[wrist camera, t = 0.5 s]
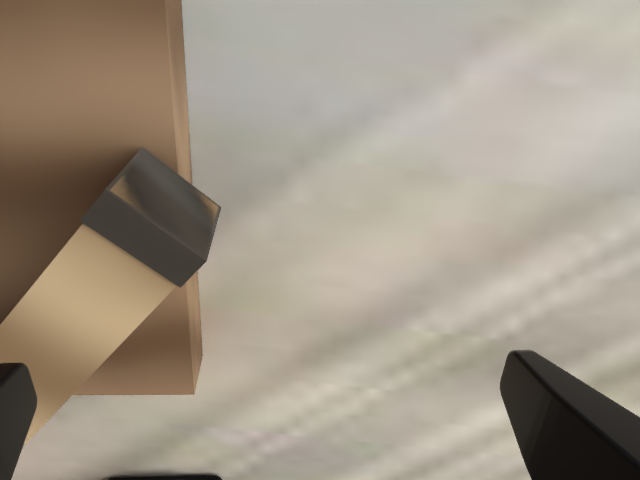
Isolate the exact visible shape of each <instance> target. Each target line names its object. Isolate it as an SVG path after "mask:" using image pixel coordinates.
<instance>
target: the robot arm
mask: <svg viewBox="0 0 640 480" xmlns="http://www.w3.org/2000/svg"><path fill="white" fill-rule="evenodd" d="M500 391H501V396H502V399H503V401H504V404H505V407H506V410H507V413H508V416H509V419H510V422H511V425H512V428H513V431H514V433H515V436H516V439H517V442H518V445H519V448H520V451H521V454H522V457H523V459H524V462H525V465H526V467H527V470H528V472H529V474H530V477H531V479H532V480H640V417H638V416H637V415H635V414H634V413H632V412H630V411H629V410H627V409H626V408H624V407H622V406H621V405H619V404H618V403H616V402H614V401H613V400H611V399H610V398H608V397H606V396H605V395H603V394H601V393H600V392H598V391H597V390H595V389H593V388H592V387H590V386H589V385H587V384H585V383H584V382H582V381H581V380H579V379H577V378H576V377H574V376H573V375H571V374H569V373H568V372H566V371H565V370H563V369H561V368H560V367H558V366H557V365H555V364H553V363H552V362H550V361H549V360H547V359H545V358H544V357H542V356H540V355H539V354H537V353H536V352H534V351H532V350H513V351H511V352H510V353H509V354H508V356H507V359H506V363H505V366H504V370H503V373H502V377H501V381H500ZM36 408H37V394H36V391H35V388H34V385H33V381H32V378H31V375H30V372H29V369H28V367H27V365H26V364H24V363H21V362H14V363H0V480H11V478H12V476H13V473H14V470H15V467H16V464H17V462H18V459H19V456H20V453H21V450H22V448H23V445H24V442H25V439H26V437H27V434H28V431H29V428H30V425H31V423H32V420H33V417H34V414H35V411H36ZM108 480H222V479H221V478H220V477H218V476H178V477H132V478H110V479H108Z"/></svg>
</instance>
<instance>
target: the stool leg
mask: <svg viewBox="0 0 640 480" xmlns="http://www.w3.org/2000/svg"><path fill="white" fill-rule="evenodd" d="M220 210H221V207H220V206H219V205H217V204H216V203H215V202H214V201H212V200H211V199H210V198H208V197H207V196H206V195H204V194H203V193H202V192H201V191H199V190H198V189H197V188H195V187H194V186H193V185H192V184H190V183H189V182H188V181H186V180H185V179H184V178H182V177H181V176H180V175H179V174H177V173H176V172H175V171H173V170H172V169H171V168H170V167H168V166H167V165H166V164H164V163H163V162H162V161H160V160H159V159H158V158H157V157H155V156H154V155H153V154H151V153H150V152H149V151H147V150H146V149H145V148H144V147H142V148H141V149H140V150H139V152H138V153H137V154H136V155H135V156H134V157H133V158H132V159H131V161H130V162H129V163H128V164H127V165H126V166H125V167H124V169H123V170H122V171H121V172H120V173H119V174H118V175H117V177H116V178H115V179H114V180H113V181H112V182H111V183H110V185H109V186H108V187H107V188H106V189H105V190H104V192H103V193H102V194H101V195H100V196H99V198H98V199H97V200H96V201H95V203H94V204H93V205H92V206H91V208H90V209H89V210H88V211H87V212H86V214H85V215H84V216H83V217H82V219H81V220H80V221H81V222H82V223H83V224H82V225H81V226H80V228H79V229H78V230H77V231H76V233H75V234H74V235H73V236H72V238H71V239H70V240H69V241H68V242H67V244H66V245H65V246H64V247H63V249H62V250H61V251H60V252H59V253H58V255H57V256H56V257H55V258H54V260H53V261H52V262H51V263H50V265H49V266H48V267H47V268H46V269H45V271H44V272H43V273H42V274H41V276H40V277H39V278H38V279H37V280H36V282H35V283H34V284H33V285H32V287H31V288H30V289H29V290H28V292H27V293H26V294H25V295H24V296H23V298H22V299H21V300H20V301H19V303H18V304H17V305H16V306H15V307H14V309H13V310H12V311H11V312H10V314H9V315H8V316H7V317H6V318H5V320H4V321H3V322H2V323H1V325H0V363H14V362H21V363H24V364H26V365H27V367H28V369H29V372H30V375H31V378H32V381H33V385H34V388H35V391H36V394H37V408H36V411H35V414H34V417H33V420H32V423H31V425H30V428H29V431H28V434H27V437H26V439H25V442H24V445H25V444H26V443H27V442H28V441H29V439H30V438H31V437H32V436H33V435H34V434H35V433H36V432H37V431H38V430H39V429H40V428H41V427H42V426H43V425H44V424H45V423H46V422H47V421H48V420H49V419H50V418H51V417H52V415H53V414H54V413H55V412H56V411H57V410H58V409H59V408H60V407H61V406H62V405H63V404H64V403H65V402H66V401H67V400H68V399H69V398H70V397H71V396H72V395H73V394H74V393H75V391H76V390H77V389H78V388H79V387H80V386H81V385H82V384H83V383H84V382H85V381H86V380H87V379H88V378H89V377H90V376H91V375H92V374H93V373H94V372H95V371H96V370H97V369H98V367H99V366H100V365H101V364H102V363H103V362H104V361H105V360H106V359H107V358H108V357H109V356H110V355H111V354H112V353H113V352H114V351H115V350H116V349H117V348H118V347H119V346H120V344H121V343H122V342H123V341H124V340H125V339H126V338H127V337H128V336H129V335H130V334H131V333H132V332H133V331H134V330H135V329H136V328H137V327H138V326H139V325H140V324H141V323H142V322H143V320H144V319H145V318H146V317H147V316H148V315H149V314H150V313H151V312H152V311H153V310H154V309H155V308H156V307H157V306H158V305H159V304H160V303H161V302H162V301H163V300H164V299H165V298H166V296H167V295H168V294H169V293H170V292H171V291H172V290H173V289H174V288H175V287H176V286H178V287H180V288H181V287H182V286H183V285H184V284H185V283H186V282H187V281H188V280H189V279H190V278H191V277H192V276H193V275H194V273H195V272H196V271H197V270H198V269H199V268H200V267H201V266H202V265H203V264H204V263H205V262H206V261H207V257H208V254H209V250H210V246H211V243H212V239H213V235H214V232H215V228H216V224H217V221H218V217H219V213H220ZM24 445H23V446H24Z"/></svg>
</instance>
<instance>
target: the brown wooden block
mask: <svg viewBox="0 0 640 480" xmlns="http://www.w3.org/2000/svg"><path fill="white" fill-rule="evenodd" d="M142 147H144V148H145V149H146V150H147V151H149V152H150V153H151V154H153V155H154V156H155V157H157V158H158V159H159V160H160V161H162V162H163V163H164V164H166V165H167V166H168V167H170V168H171V169H172V170H173V171H175V172H176V173H177V174H179V175H180V176H181V177H182V178H184V179H185V180H186V181H188V182H189V183H190V184H192V171H191V155H190V138H189V121H188V105H187V88H186V71H185V55H184V38H183V21H182V5H181V0H0V325H1V323H2V322H3V321H4V320H5V318H6V317H7V316H8V315H9V314H10V312H11V311H12V310H13V309H14V307H15V306H16V305H17V304H18V303H19V301H20V300H21V299H22V298H23V296H24V295H25V294H26V293H27V292H28V290H29V289H30V288H31V287H32V285H33V284H34V283H35V282H36V280H37V279H38V278H39V277H40V276H41V274H42V273H43V272H44V271H45V269H46V268H47V267H48V266H49V265H50V263H51V262H52V261H53V260H54V258H55V257H56V256H57V255H58V253H59V252H60V251H61V250H62V249H63V247H64V246H65V245H66V244H67V242H68V241H69V240H70V239H71V238H72V236H73V235H74V234H75V233H76V231H77V230H78V229H79V228H80V226H81V225H82V224H83V223H82V222H81V221H80V220H81V219H82V217H83V216H84V215H85V214H86V212H87V211H88V210H89V209H90V208H91V206H92V205H93V204H94V203H95V201H96V200H97V199H98V198H99V196H100V195H101V194H102V193H103V192H104V190H105V189H106V188H107V187H108V186H109V185H110V183H111V182H112V181H113V180H114V179H115V178H116V177H117V175H118V174H119V173H120V172H121V171H122V170H123V169H124V167H125V166H126V165H127V164H128V163H129V162H130V161H131V159H132V158H133V157H134V156H135V155H136V154H137V153H138V152H139V150H140V149H141V148H142ZM202 356H203V355H202V338H201V322H200V305H199V288H198V272H197V271H196V272H195V273H194V275H193V276H192V277H191V278H190V279H189V280H188V281H187V282H186V283H185V284H184V285H183V286H182V287H181V288H180V287H178V286H176V287H175V288H174V289H173V290H172V291H171V292H170V293H169V294H168V295H167V296H166V298H165V299H164V300H163V301H162V302H161V303H160V304H159V305H158V306H157V307H156V308H155V309H154V310H153V311H152V312H151V313H150V314H149V315H148V316H147V317H146V318H145V319H144V320H143V322H142V323H141V324H140V325H139V326H138V327H137V328H136V329H135V330H134V331H133V332H132V333H131V334H130V335H129V336H128V337H127V338H126V339H125V340H124V341H123V342H122V343H121V344H120V346H119V347H118V348H117V349H116V350H115V351H114V352H113V353H112V354H111V355H110V356H109V357H108V358H107V359H106V360H105V361H104V362H103V363H102V364H101V365H100V366H99V367H98V369H97V370H96V371H95V372H94V373H93V374H92V375H91V376H90V377H89V378H88V379H87V380H86V381H85V382H84V383H83V384H82V385H81V386H80V387H79V388H78V389H77V390H76V391H75V393H74V394H73V395H182V394H194V393H195V389H196V384H197V379H198V375H199V370H200V365H201V360H202Z"/></svg>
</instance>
